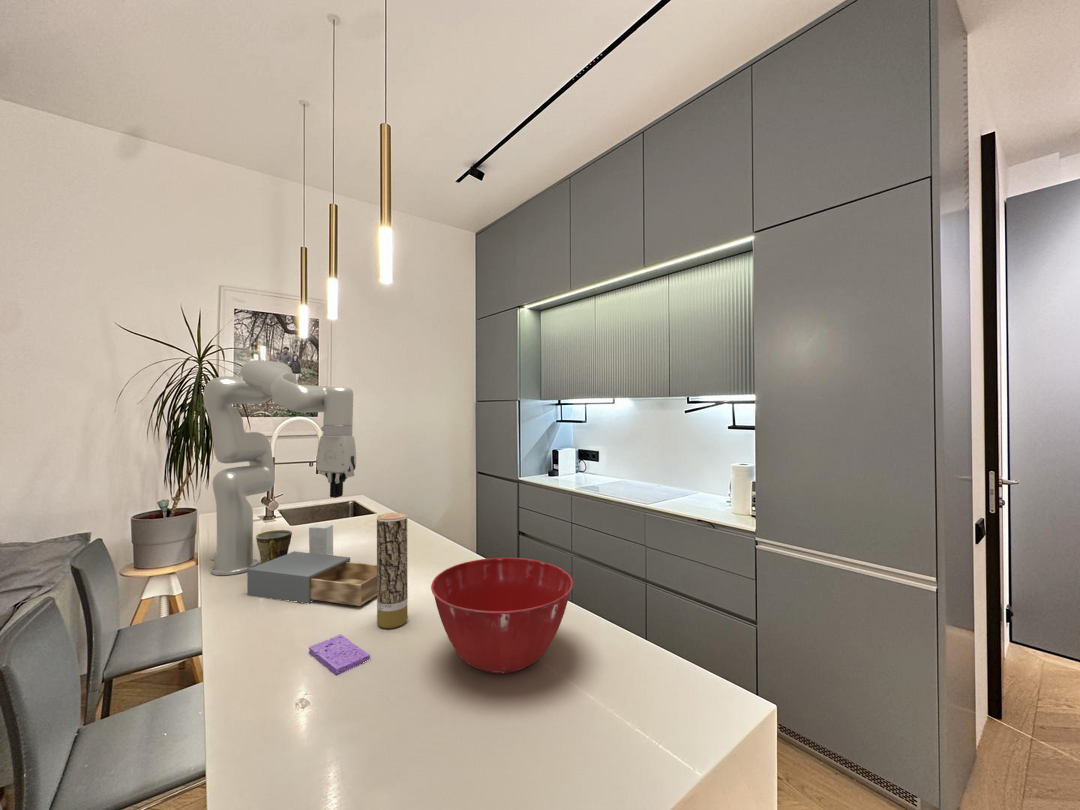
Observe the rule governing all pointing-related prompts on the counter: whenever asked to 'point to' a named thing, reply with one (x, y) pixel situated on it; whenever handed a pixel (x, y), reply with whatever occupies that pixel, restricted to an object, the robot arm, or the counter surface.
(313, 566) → the sleeve
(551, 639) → the mixing bowl
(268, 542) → the ceramic cup
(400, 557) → the paper tube
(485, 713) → the counter surface
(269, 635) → the counter surface
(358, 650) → the sponges
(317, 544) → the skincare box
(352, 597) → the tray
